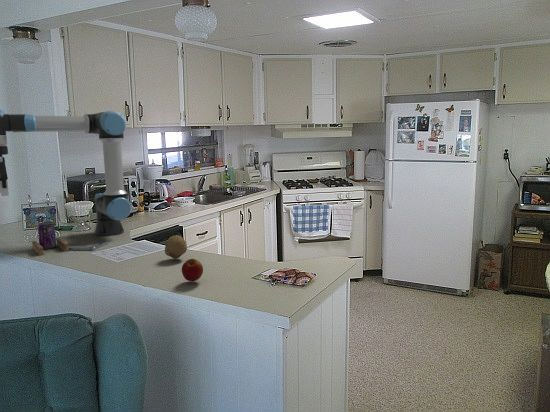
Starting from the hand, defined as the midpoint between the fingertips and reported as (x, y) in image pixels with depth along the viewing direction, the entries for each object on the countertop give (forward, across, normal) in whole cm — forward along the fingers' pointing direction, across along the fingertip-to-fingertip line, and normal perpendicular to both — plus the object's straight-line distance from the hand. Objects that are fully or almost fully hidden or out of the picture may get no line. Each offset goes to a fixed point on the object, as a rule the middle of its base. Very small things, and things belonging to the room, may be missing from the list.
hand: (2, 194), depth 201 cm
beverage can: (+27, 0, +16) cm, 32 cm away
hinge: (+27, +18, +31) cm, 45 cm away
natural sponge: (+27, +58, +54) cm, 84 cm away
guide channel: (+27, +5, +16) cm, 32 cm away
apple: (+27, +89, +45) cm, 103 cm away
